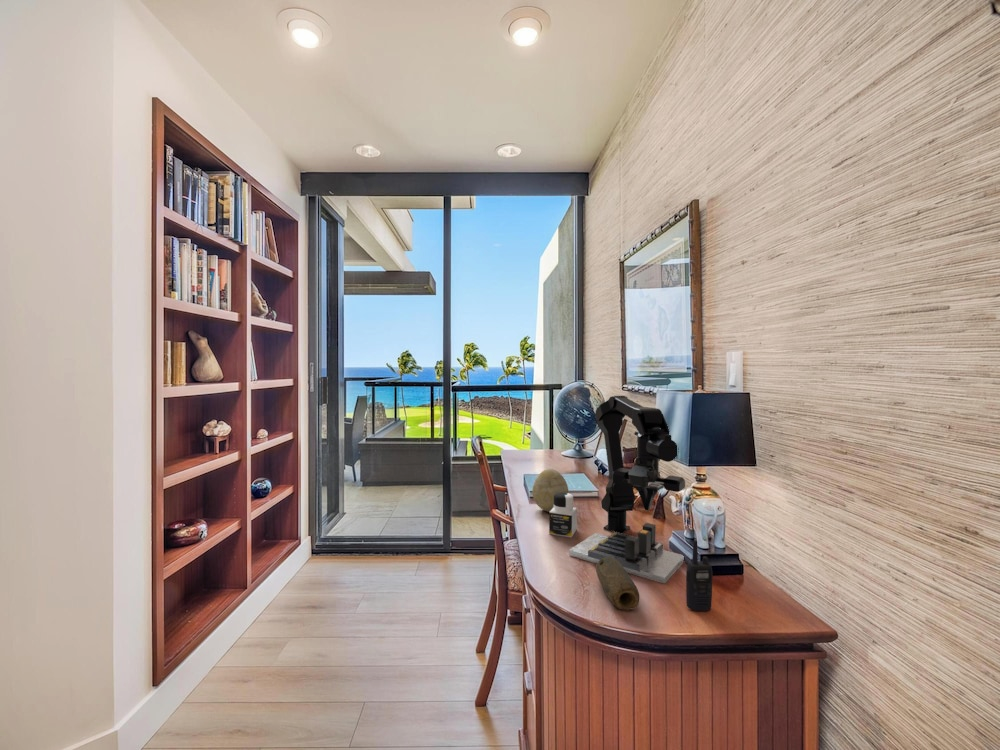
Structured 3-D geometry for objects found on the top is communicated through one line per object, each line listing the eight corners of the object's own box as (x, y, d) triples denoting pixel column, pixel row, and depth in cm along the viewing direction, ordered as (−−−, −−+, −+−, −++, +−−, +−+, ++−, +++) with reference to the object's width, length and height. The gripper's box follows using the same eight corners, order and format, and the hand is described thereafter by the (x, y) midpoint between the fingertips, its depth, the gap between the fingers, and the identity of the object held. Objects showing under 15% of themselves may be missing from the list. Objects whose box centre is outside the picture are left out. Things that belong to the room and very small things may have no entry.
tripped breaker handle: (641, 548, 123) (641, 528, 123) (650, 550, 122) (650, 530, 122) (637, 551, 121) (637, 532, 121) (646, 554, 119) (646, 534, 119)
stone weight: (590, 581, 111) (590, 554, 111) (618, 579, 112) (618, 552, 112) (613, 615, 97) (614, 584, 96) (645, 613, 98) (645, 582, 97)
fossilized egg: (570, 516, 157) (570, 473, 157) (533, 516, 157) (533, 473, 157) (565, 505, 170) (566, 464, 170) (531, 505, 170) (531, 464, 170)
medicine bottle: (548, 534, 141) (549, 495, 141) (555, 526, 148) (555, 489, 148) (571, 537, 139) (572, 498, 138) (577, 529, 145) (577, 492, 145)
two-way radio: (689, 612, 98) (690, 542, 97) (680, 601, 102) (681, 534, 102) (715, 612, 98) (716, 542, 97) (704, 601, 102) (705, 534, 102)
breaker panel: (596, 537, 139) (596, 510, 139) (685, 560, 123) (685, 530, 123) (568, 556, 126) (568, 526, 125) (663, 584, 110) (664, 550, 109)
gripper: (603, 454, 127) (603, 510, 127) (673, 463, 115) (672, 525, 116) (620, 448, 135) (619, 500, 136) (686, 456, 124) (685, 514, 124)
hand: (647, 509), depth 128 cm, fingers closed
